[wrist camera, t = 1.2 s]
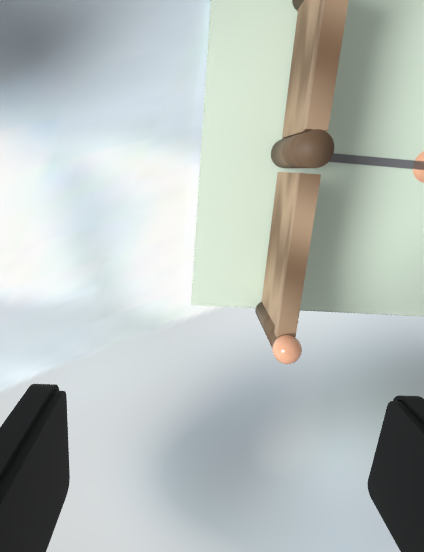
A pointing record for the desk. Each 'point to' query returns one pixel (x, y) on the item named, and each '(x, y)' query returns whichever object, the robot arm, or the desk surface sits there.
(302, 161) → the fence fixed section
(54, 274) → the desk surface
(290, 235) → the panel
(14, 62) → the desk surface
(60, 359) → the desk surface
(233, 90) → the card
